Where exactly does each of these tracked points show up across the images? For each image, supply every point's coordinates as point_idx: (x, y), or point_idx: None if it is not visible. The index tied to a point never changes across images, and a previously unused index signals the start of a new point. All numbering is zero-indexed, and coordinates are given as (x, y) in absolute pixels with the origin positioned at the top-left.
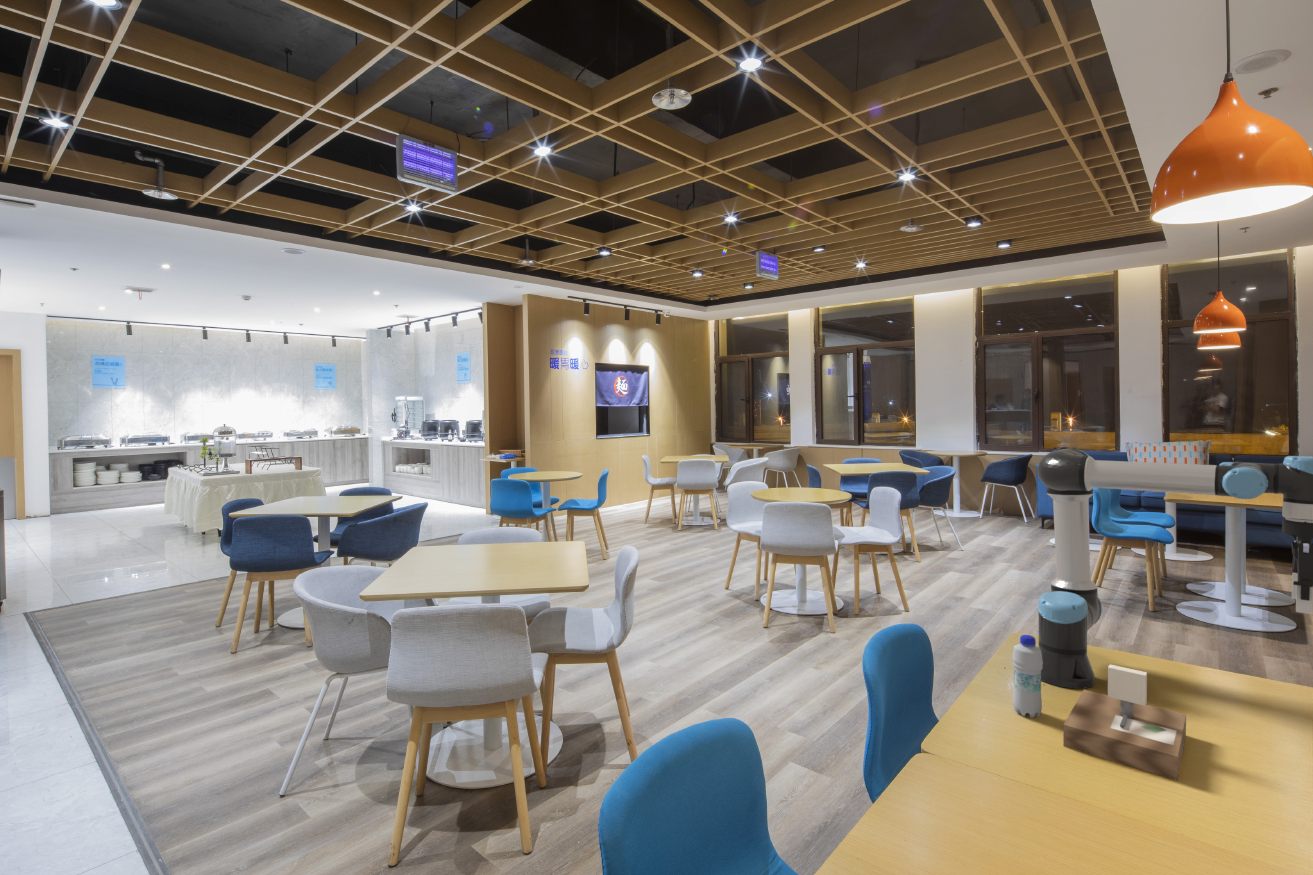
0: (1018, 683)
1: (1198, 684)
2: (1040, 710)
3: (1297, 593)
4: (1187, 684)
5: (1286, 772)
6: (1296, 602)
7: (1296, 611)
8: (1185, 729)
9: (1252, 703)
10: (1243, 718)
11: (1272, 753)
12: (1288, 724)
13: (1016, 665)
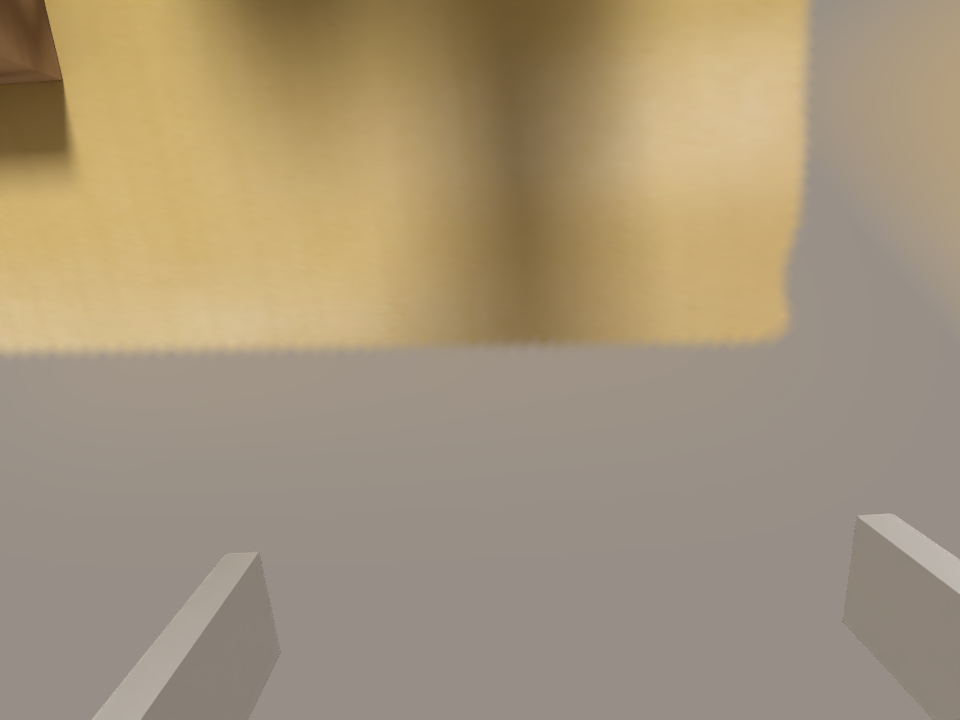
0: None
1: (603, 53)
2: None
3: None
4: (574, 18)
5: (47, 321)
6: (164, 637)
7: (222, 560)
8: (11, 72)
9: (526, 224)
10: (359, 211)
11: (145, 290)
12: (410, 316)
13: None
